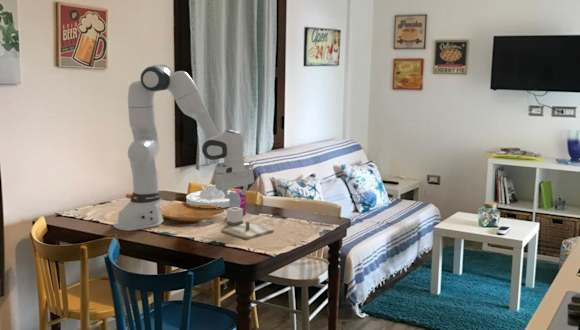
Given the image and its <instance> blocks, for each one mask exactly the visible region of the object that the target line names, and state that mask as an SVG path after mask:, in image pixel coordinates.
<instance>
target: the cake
mask: <svg viewBox="0 0 580 330" xmlns="http://www.w3.org/2000/svg"><path fill="white" fill-rule="evenodd" d="M199 185H200V187H201V189H202V190H198V191H195V192H191V193H188V194H187V195H186V197H185V198H186V199H185V201H186V202H185V203H186V204H187V203H188V204H194V205H211V206H217V207H221V208H220V209H224V208H226V209H227V208H229V199H225V194H224V193H223V190H222V191H220V190H217V189H216V188H215V184H212V183H210V184H209V185H208V184H206V185H205V187H204V185H203V184H202V183H200V184H199ZM230 191H231V190H230V189H228V192H227V193H228V195H229V192H230Z"/></svg>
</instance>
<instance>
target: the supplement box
mask: <svg viewBox="0 0 580 330" xmlns="http://www.w3.org/2000/svg"><path fill="white" fill-rule="evenodd" d="M229 191H230V192H229V195H230V198H229V207H228V209H229V208H233V207H238V208H241V209H243V216H244V215H245V216H246V213H247V212H246V209H247V207H246V206H247V205H246V203H247V200H246V199H247V196H246V195H247V194H246V195H241V191H242V190H240V189H235V190H229Z"/></svg>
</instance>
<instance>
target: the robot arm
mask: <svg viewBox="0 0 580 330" xmlns="http://www.w3.org/2000/svg"><path fill="white" fill-rule="evenodd" d="M160 91H161V92H162V91H169V93H171V96H172V97H173V98H174V101H175V103H176V104H177V107H178V108H179V109H180V110H181V112H182V113H183V114H184V115H186V116H188V117H190V118H191V119H193V120H195V121H196V122H197V123H198V125H199V127H200V128H201V130H202V132H203V134H204V136H205V137H206V140H205V141H204V142H203V144H202V148H201V152H202V154H203V156H204V157H205V158H206V159H207V160H211V161H216V160H220V159H223V160H224V162H222V163H221V164H219V165H218V166H216V167H215V168H214V169H215V173H216V174H215V176H214V185H215V188H216V189H217V190H220V191H222V190H223V193H224V194H225V199H229V198H230V195H228V193H227V192H228V190H231V189H234V188H239V187H243V188H242V190H241V195H247V189H248V188H249V186H248V185H251V184H254V182H255V176H254V170H253V165H252V164H250V163H245V156H244V152H245V147H244V138H243V134H242V132H240V131H239V130H235V129H226V130H224V131H223V132H221V131H220V130H219V129H218V127H217V125H216V124H215V122H214V119H213V118H212V117H211V115H210V113H209V110H208V109H207V107H206V104H205V101H204V99H203V97H202V94H201V93H200V90H199V88H198V87H197V85H196V84H195V81H194V80H193V78H192V77H191V76H190V75H189V73H188V72H186V71H184V70H179V71H174V72H173V71H172V69H171V68H170V67H169V66H167V65H165V64H153V65H151V66H148V67H146V68H144V70H143V71H141V74H140V80H136V81H133V82H132V83H131V84H129V87H128V94H127V95H128V96H127V108H128V122H129V127H130V129H131V133H132V137H133V142H131V143H130V144H129V146H128V150H127V156H128V160H129V164H130V169H131V173H132V174H131V175H132V184H133V185H132V186H133V187H132V188H133V192H132V193H131V194H130V193H126V195H125V197H126V199H129V202H128V203H127V204H126V205H125V206H124V207H122V208H121V210H120V211H119V213H118V216H117V221H115V222H113V224H112V226H113V227H114V228H115V229H117V230H121V231H126V232H131V231H136V230H143V229H149V228H153V227H159V226H162V223H163V222H164V218H163V215H162V211H161V205H160V199H161V197H160V189H159V174H158V171H157V167H156V161H155V160H156V159H155V158H156V156H158V153H159V152H160V142H159V137H158V132H157V127H156V126H157V125H156V120H155V103H154V102H155V101H154V96H155V93H156V92H160Z"/></svg>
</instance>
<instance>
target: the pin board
mask: <svg viewBox="0 0 580 330" xmlns="http://www.w3.org/2000/svg"><path fill="white" fill-rule="evenodd" d="M274 231H275V229H274V228H271V227H268V226H264V225H259V224H257V223H254V222H249V221H246V222H245V223H244V222H243V224H240V225H236V226H233V225H232V226H229V227H226V228H222V229H221V232H222V233H223V234H227V235H230V236H234V237H237V238H241V239H243V240H250V239H253V238H257V237H260V236H263V235H266V234H267V235H268V234H270V233H272V232H274Z"/></svg>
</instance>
